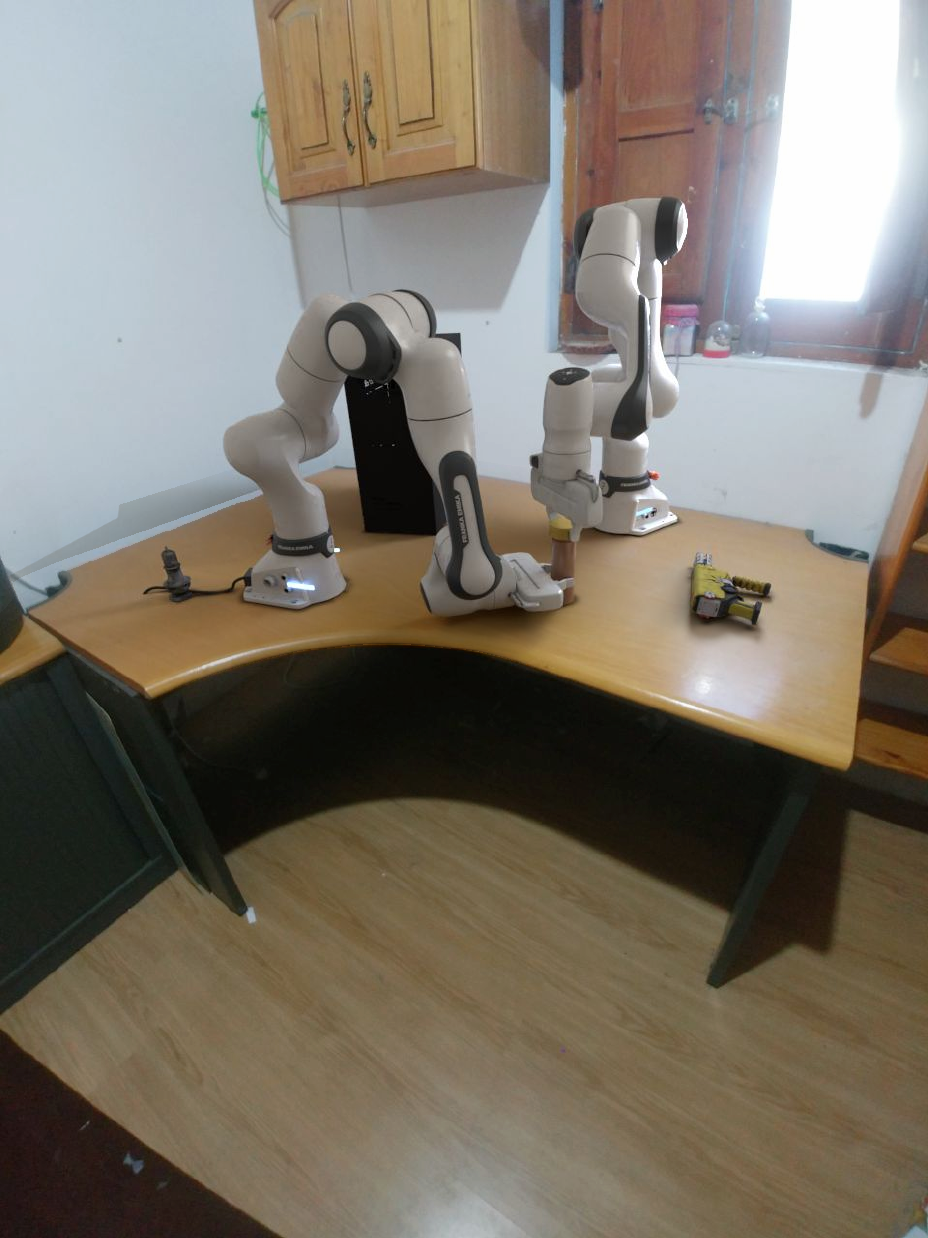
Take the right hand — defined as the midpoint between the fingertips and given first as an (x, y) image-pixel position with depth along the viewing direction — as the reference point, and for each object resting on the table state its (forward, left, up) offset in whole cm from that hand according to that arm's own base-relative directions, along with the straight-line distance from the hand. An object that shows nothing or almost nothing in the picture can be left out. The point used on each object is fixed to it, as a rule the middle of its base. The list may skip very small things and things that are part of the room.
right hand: (563, 534), depth 118 cm
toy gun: (-30, +16, -14) cm, 37 cm away
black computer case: (+5, -68, -14) cm, 69 cm away
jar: (0, 0, -14) cm, 14 cm away
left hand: (-1, 0, -9) cm, 9 cm away
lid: (0, 0, +2) cm, 2 cm away
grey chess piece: (+72, -44, -14) cm, 86 cm away
